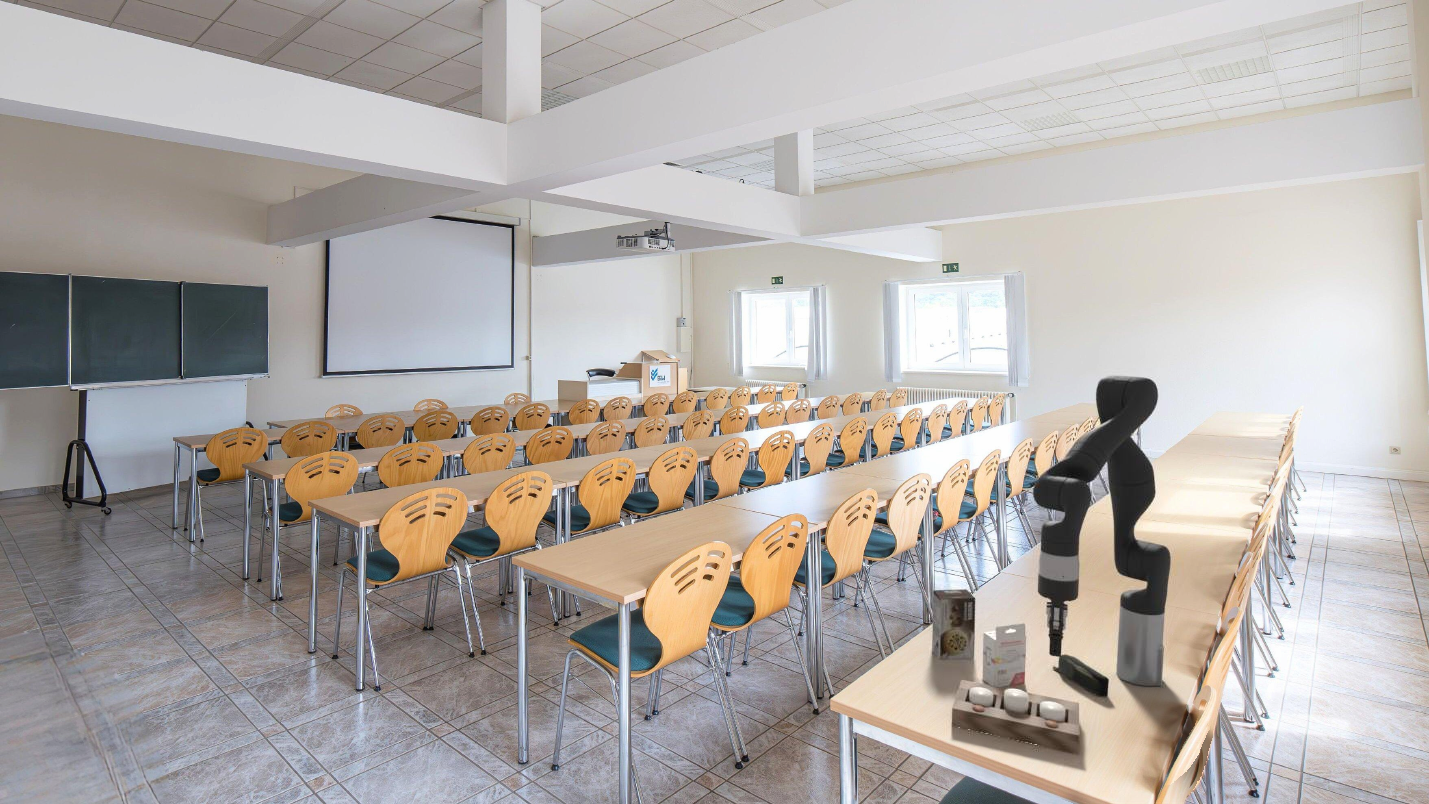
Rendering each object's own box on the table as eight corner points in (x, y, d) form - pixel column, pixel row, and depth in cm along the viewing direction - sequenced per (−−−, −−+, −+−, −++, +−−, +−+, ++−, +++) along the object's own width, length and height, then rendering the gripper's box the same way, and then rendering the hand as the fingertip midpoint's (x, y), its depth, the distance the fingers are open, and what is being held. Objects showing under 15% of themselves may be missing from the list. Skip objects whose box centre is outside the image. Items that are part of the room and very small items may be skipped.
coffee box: (965, 648, 193) (967, 588, 191) (974, 659, 186) (976, 597, 185) (930, 649, 192) (932, 589, 191) (939, 660, 186) (941, 598, 184)
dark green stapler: (1111, 677, 167) (1061, 648, 181) (1101, 679, 166) (1051, 650, 180) (1110, 697, 168) (1059, 667, 182) (1099, 699, 167) (1050, 669, 181)
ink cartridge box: (1011, 674, 178) (1013, 615, 177) (1025, 683, 174) (1027, 623, 172) (980, 678, 176) (983, 619, 175) (994, 688, 171) (996, 627, 170)
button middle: (1028, 709, 157) (1029, 691, 156) (1027, 720, 153) (1028, 701, 152) (1004, 704, 159) (1005, 686, 159) (1002, 714, 155) (1003, 696, 154)
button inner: (1064, 722, 154) (1065, 704, 154) (1064, 733, 150) (1065, 715, 149) (1039, 717, 156) (1040, 699, 156) (1038, 728, 152) (1039, 709, 151)
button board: (1078, 720, 157) (1079, 702, 157) (1078, 754, 145) (1079, 734, 144) (960, 696, 168) (961, 678, 167) (951, 726, 155) (952, 707, 155)
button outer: (993, 707, 160) (994, 690, 160) (991, 718, 156) (992, 700, 155) (970, 702, 162) (971, 685, 162) (967, 712, 158) (968, 695, 157)
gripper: (1079, 586, 142) (1075, 672, 144) (1078, 566, 154) (1075, 645, 156) (1036, 580, 145) (1033, 664, 147) (1039, 561, 157) (1036, 639, 159)
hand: (1055, 654), depth 151 cm, fingers closed
